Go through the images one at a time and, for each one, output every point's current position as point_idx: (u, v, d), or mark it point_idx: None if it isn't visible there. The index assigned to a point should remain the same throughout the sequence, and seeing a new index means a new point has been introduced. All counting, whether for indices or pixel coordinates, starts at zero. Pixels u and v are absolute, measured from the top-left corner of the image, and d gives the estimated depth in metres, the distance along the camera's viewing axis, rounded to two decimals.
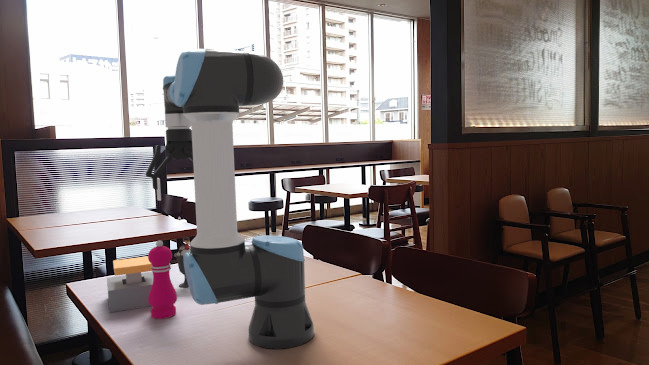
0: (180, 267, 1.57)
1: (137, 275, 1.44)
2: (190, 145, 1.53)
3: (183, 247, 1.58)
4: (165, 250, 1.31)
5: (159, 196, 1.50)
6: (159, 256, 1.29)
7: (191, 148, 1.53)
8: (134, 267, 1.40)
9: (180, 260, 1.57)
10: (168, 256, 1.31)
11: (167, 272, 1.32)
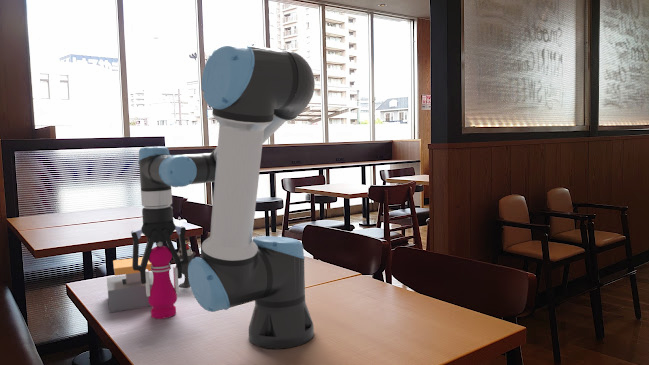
0: None
1: (137, 275, 1.44)
2: (171, 225, 1.32)
3: None
4: (164, 250, 1.31)
5: (148, 291, 1.30)
6: (159, 256, 1.29)
7: (171, 229, 1.32)
8: None
9: None
10: (168, 256, 1.31)
11: (167, 272, 1.32)
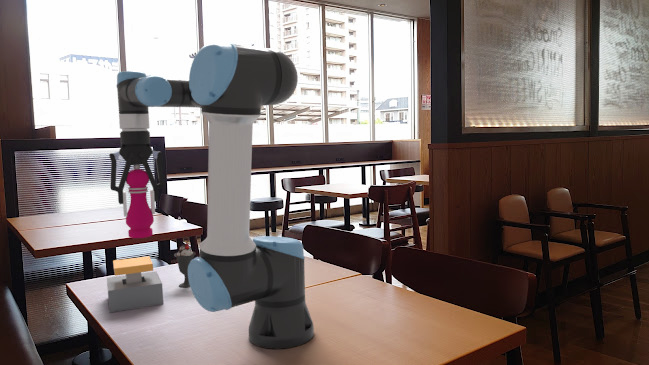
0: (180, 267, 1.57)
1: (137, 275, 1.44)
2: (148, 149, 1.37)
3: (183, 247, 1.58)
4: (141, 173, 1.36)
5: (125, 212, 1.36)
6: (135, 177, 1.35)
7: (148, 153, 1.37)
8: (134, 267, 1.40)
9: (180, 260, 1.57)
10: (145, 178, 1.36)
11: (144, 194, 1.37)
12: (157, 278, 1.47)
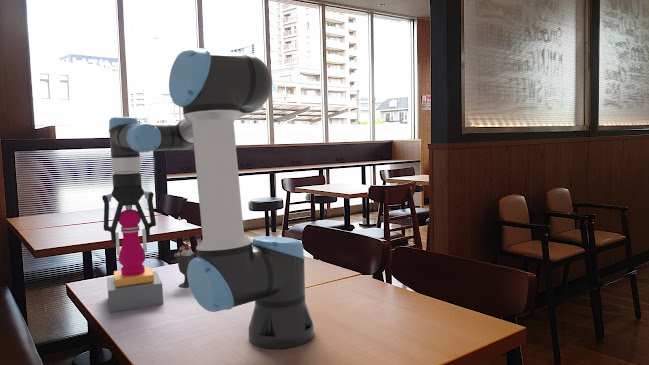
0: (180, 267, 1.57)
1: None
2: (140, 190, 1.43)
3: (183, 247, 1.58)
4: (133, 213, 1.42)
5: (118, 251, 1.42)
6: (127, 218, 1.41)
7: (140, 193, 1.43)
8: (135, 278, 1.41)
9: (180, 260, 1.57)
10: (137, 218, 1.42)
11: (136, 233, 1.43)
12: (157, 278, 1.47)
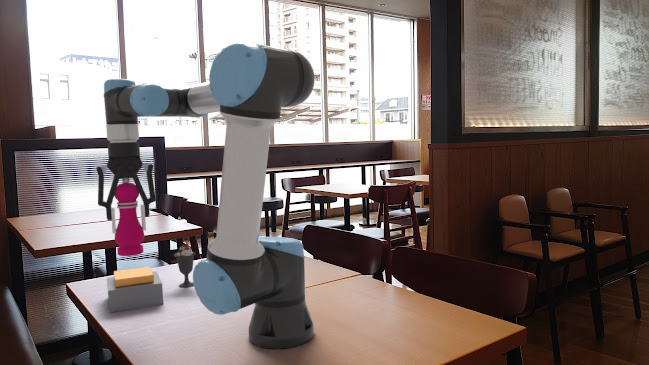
0: (180, 267, 1.57)
1: None
2: (138, 161, 1.29)
3: (183, 247, 1.58)
4: (131, 186, 1.28)
5: (114, 228, 1.28)
6: (124, 191, 1.27)
7: (138, 165, 1.29)
8: (135, 278, 1.41)
9: (180, 260, 1.57)
10: (135, 192, 1.28)
11: (134, 209, 1.29)
12: (157, 278, 1.47)
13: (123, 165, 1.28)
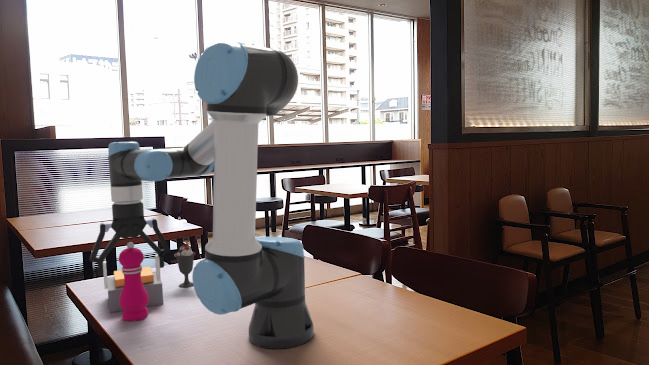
0: (180, 267, 1.57)
1: None
2: (141, 221, 1.31)
3: (183, 247, 1.58)
4: (135, 252, 1.29)
5: (105, 284, 1.28)
6: (129, 258, 1.28)
7: (142, 224, 1.31)
8: None
9: (180, 260, 1.57)
10: (139, 257, 1.30)
11: (138, 274, 1.31)
12: None
13: (128, 226, 1.29)
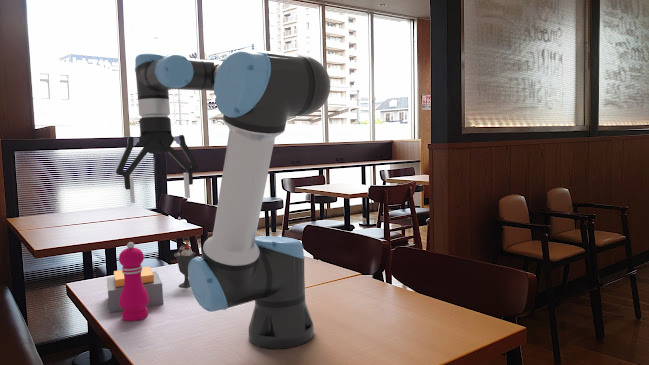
0: (180, 267, 1.57)
1: None
2: (169, 137, 1.29)
3: (183, 247, 1.58)
4: (135, 252, 1.29)
5: (132, 197, 1.26)
6: (129, 258, 1.28)
7: (170, 140, 1.29)
8: None
9: (180, 260, 1.57)
10: (139, 257, 1.30)
11: (138, 274, 1.31)
12: (157, 278, 1.47)
13: (156, 141, 1.28)
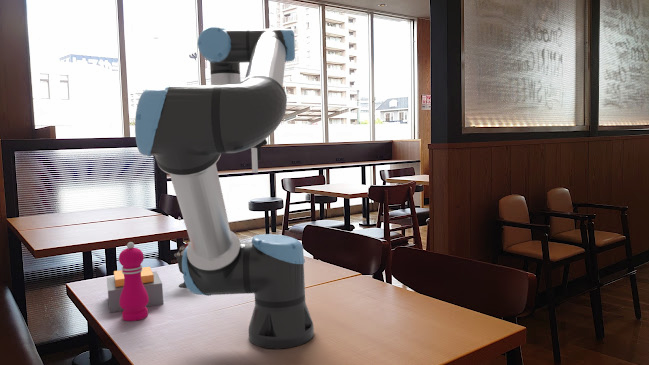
0: (180, 267, 1.57)
1: None
2: None
3: (183, 247, 1.58)
4: (135, 252, 1.29)
5: None
6: (129, 258, 1.28)
7: None
8: None
9: (180, 260, 1.57)
10: (139, 257, 1.30)
11: (138, 274, 1.31)
12: (157, 278, 1.47)
13: None
